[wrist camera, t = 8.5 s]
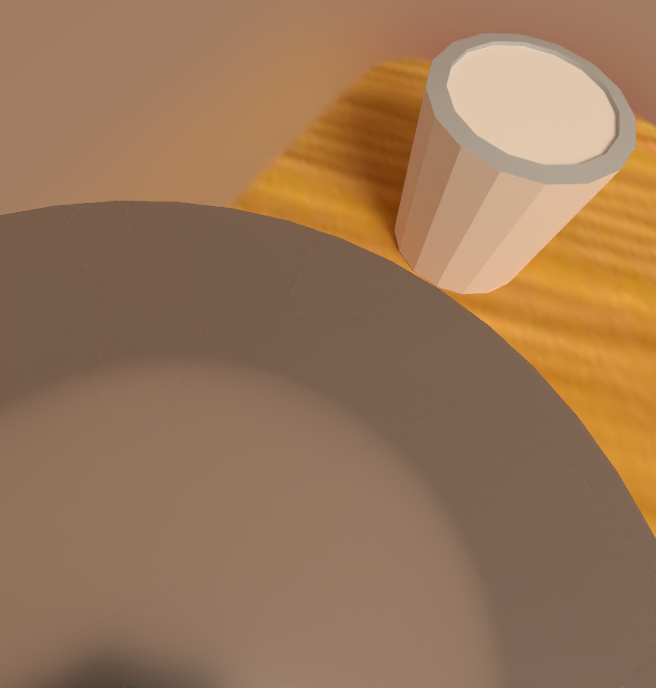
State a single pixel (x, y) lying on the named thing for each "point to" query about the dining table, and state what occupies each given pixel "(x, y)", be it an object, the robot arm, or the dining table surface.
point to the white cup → (505, 157)
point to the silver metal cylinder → (289, 472)
